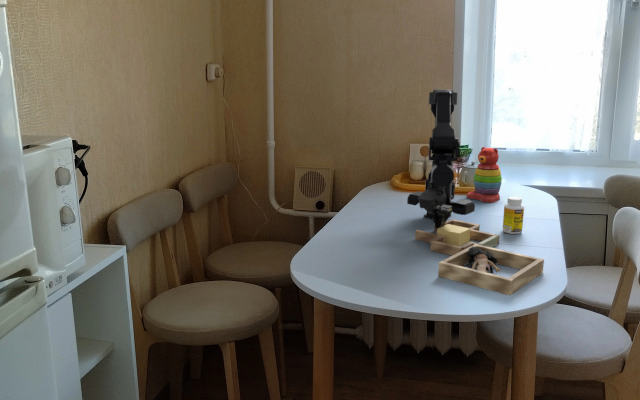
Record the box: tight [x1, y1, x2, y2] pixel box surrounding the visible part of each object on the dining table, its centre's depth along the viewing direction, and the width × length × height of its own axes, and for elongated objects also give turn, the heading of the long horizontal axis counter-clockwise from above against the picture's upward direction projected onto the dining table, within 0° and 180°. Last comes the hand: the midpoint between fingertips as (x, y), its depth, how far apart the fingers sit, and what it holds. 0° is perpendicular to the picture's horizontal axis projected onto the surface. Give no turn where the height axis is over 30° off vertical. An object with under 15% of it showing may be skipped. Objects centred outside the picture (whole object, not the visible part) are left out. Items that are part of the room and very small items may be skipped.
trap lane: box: [414, 219, 500, 256], centre depth 188 cm, size 20×23×2 cm
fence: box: [437, 244, 545, 296], centre depth 164 cm, size 18×18×4 cm
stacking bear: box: [466, 146, 503, 204], centre depth 233 cm, size 11×10×18 cm
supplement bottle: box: [502, 196, 525, 235], centre depth 196 cm, size 6×6×10 cm
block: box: [436, 224, 471, 247], centre depth 188 cm, size 7×6×4 cm
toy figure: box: [468, 246, 501, 274], centre depth 164 cm, size 7×6×15 cm
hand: (438, 232), depth 192 cm, fingers closed
